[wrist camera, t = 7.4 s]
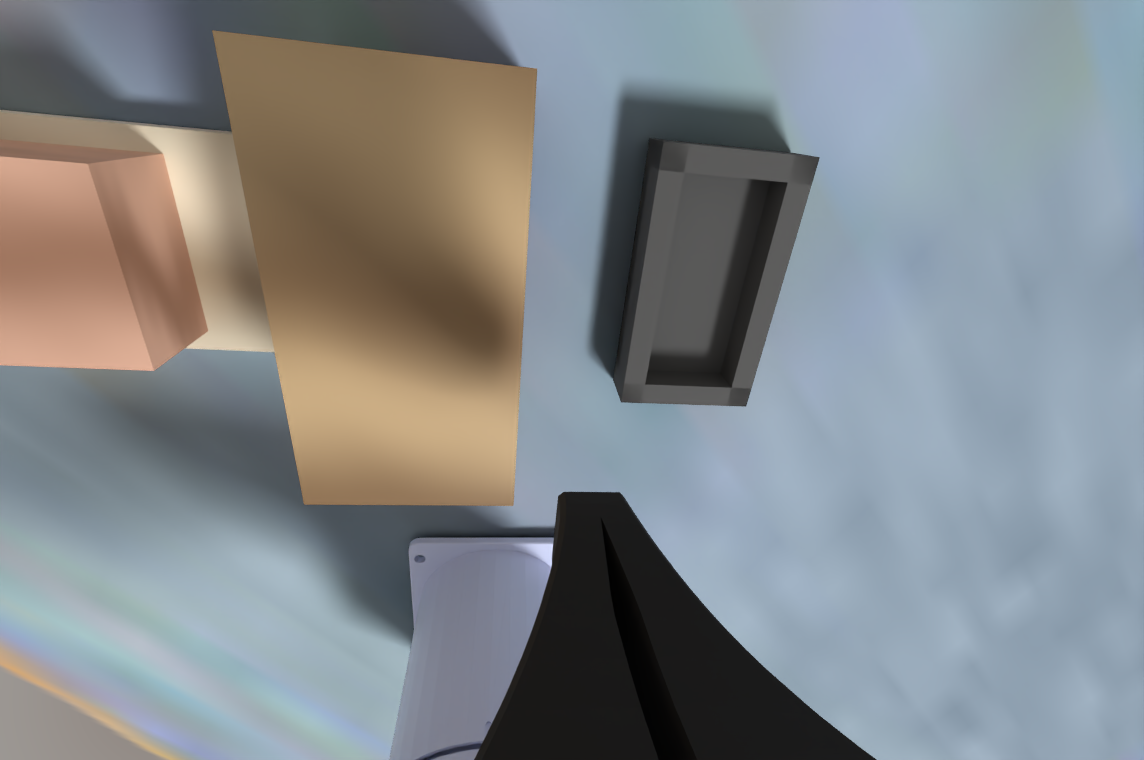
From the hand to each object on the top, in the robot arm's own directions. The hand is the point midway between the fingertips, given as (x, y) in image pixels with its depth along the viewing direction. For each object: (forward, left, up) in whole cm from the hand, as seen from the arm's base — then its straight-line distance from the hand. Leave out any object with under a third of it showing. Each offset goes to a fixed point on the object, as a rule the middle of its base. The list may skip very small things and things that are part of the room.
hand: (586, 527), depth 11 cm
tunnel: (+3, +5, -10) cm, 11 cm away
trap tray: (+3, -5, -10) cm, 11 cm away
